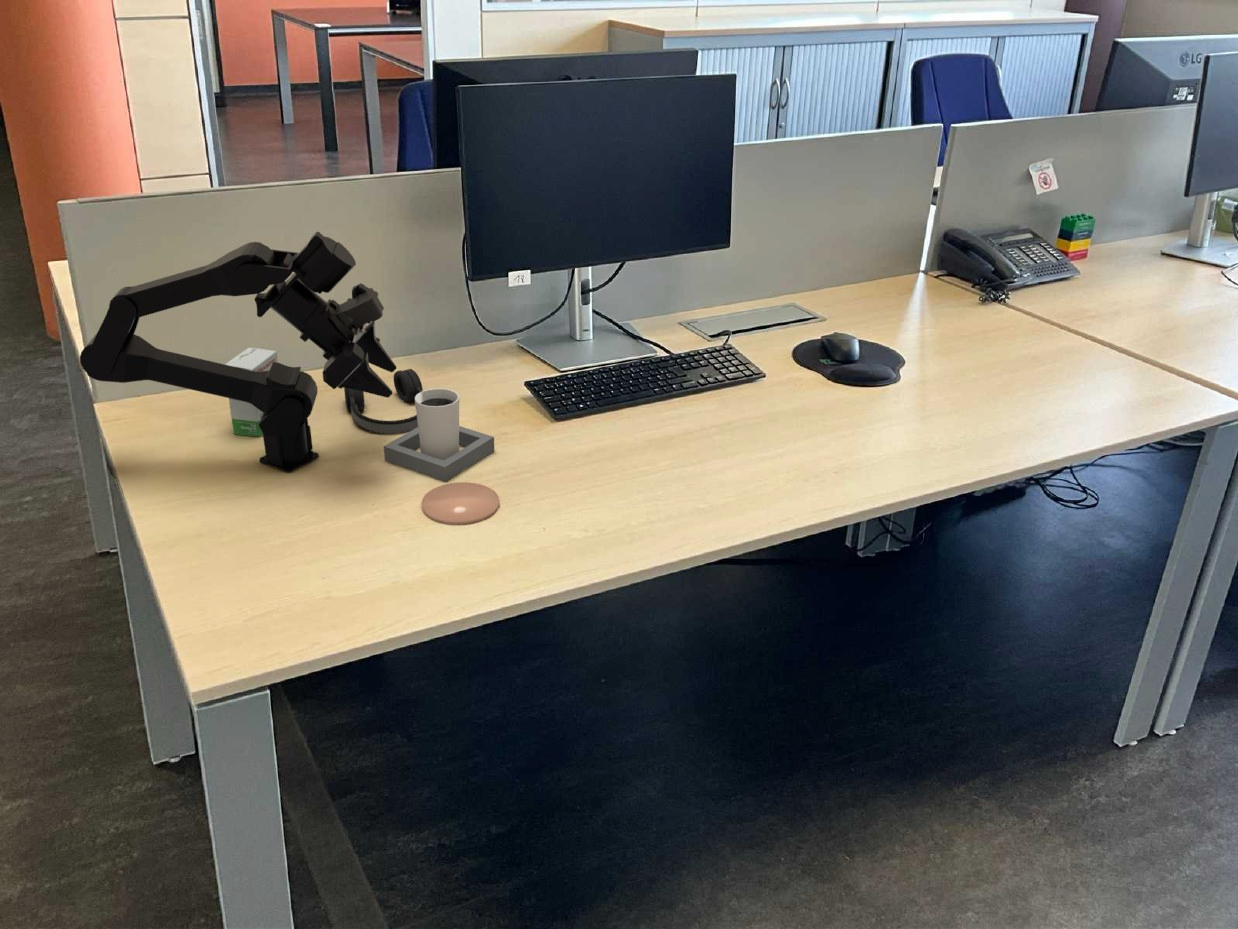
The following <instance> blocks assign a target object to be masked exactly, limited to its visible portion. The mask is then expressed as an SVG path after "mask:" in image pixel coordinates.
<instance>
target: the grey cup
mask: <svg viewBox="0 0 1238 929" xmlns="http://www.w3.org/2000/svg"><path fill="white" fill-rule="evenodd" d="M414 404H415V413H416V415H417V421H418V430H419V439H420V447H419V448H420V453H423V454H426V455H429V456H432V457H435V458H437V459H440V460H443V461H444V460H445V459H447V458H449V457H450V456H452V455H454V454H455V453H457V452H458V451H460V445H459V426H460V395H459V394H458V392H456V391H455V390H451V389H448V388H429V389H426V390H423V391H422V392H420V393H418V394H417V395H416V397H415V401H414Z"/></svg>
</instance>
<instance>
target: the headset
mask: <svg viewBox="0 0 1238 929" xmlns="http://www.w3.org/2000/svg"><path fill="white" fill-rule="evenodd" d="M376 338H377V340H378V341H379V343H381V339H380V338H379V337H376ZM393 373H394V374H393V385H394V389H395V391H396V393H397V396H398V397H399V398H400V400H401V401H402V402H404V403H409V402H412V401H413V402H415V397H416V395H417V394H418V393H420V392H422V391H424V390H423V385H422V381H421V379H420V376H419V375H418V373H417V372H416V371H415V370H413V369H412V368H408V369H404V370H397V371H396V372H395V371H394V372H393ZM343 389H344V390H343V391H344V399H345V407H346V410H349V411H351V416H352V420H353V421H354V423H355V424H356V425H357V426H358V427H359V428H361V429H363V430H365V431H367V432H370V433H371V434H372V433H373V434H378V435H396V434H398V435H399V434H405V433H408V432H410V431H412V430H413V429H415V428H417V427H418V421H417V414H416V415H413V416H410V417H408V418H407V417H406V418H402V419H397V420H383V419H382V420H381V419H374V418H371V417H368V416H366V415H363V414H362V413H361V412H360V411H362V410H364V409H365V392H363V391H359V390H353V389H348V388H343Z"/></svg>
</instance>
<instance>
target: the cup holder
mask: <svg viewBox="0 0 1238 929" xmlns="http://www.w3.org/2000/svg"><path fill="white" fill-rule="evenodd" d="M460 446H462V447H463V448H461V449H459V451H458V452H457V453H455V454H454V455H452V456H450V457H449V458H447V459H445V460H444V461H443V460H440V459H437V458H435V457H432V456H429V455H426V454H423V453H421V451H420V452H419V451H416V450H418V449H419V448H421V447H420V439H419V430H418V427H417V428H415V429H413V430H412V431H409V432H405V433H403V435H401V436H399V437H398V438H396V439H393V440H392V441H390V442H388V443H387V444H384V445H383V456H384V461H385V462H388V463H390V464H392V465H393V464H394V465H396V466H399V467H402V468H405V469H408V470H410V471H413V472H416V473H419V474H421V475H425V476H428V477H430V478H434V479H435V480H439V481H442V482H445V483H447V482H448V481H450V480H451V479H453V478H454V477H456V476H457V475H460V474H461V473H462V472H464V471H465V470H467V469H469V468H470V467H472V466H473V465H475V464H477V463H478V462H480V461H481V460H483V459H485V458H486V457H487V456H489V455H491V454H492V453H494V452H495V437H494V436H493V435H489V434H486V433H484V432H480V431H477V430H473V429H470V428H468V427H465V426H461V425H459V447H460Z"/></svg>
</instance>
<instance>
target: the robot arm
mask: <svg viewBox="0 0 1238 929" xmlns="http://www.w3.org/2000/svg"><path fill="white" fill-rule="evenodd" d="M356 262H357V261H356V260H355V258H354V256H353V255H352V254H351V252H350V251H349V250H348V248H346V247H345V246H344V245H343V244H342V243H340V242H339V241H338V242H337V241H335V240H334V239H332V238H331V237H328V236H324V235H323V234H322V233H321V232H320V231H316V232H315V233H314V234H313V235H312V236H311V237H310V239H309V241H308V242H307V243H306V245H305V246H304V247H303V248H302V249H301V250H300V251H299V252H294V251H288V250H281V249H280V250H279V249H273V248H270V247H269V246H267V245H265V244H263V243H262V242H260V241H259V242H258V241H253V242H252V241H250V242H248V243H245V244H243V245H241V246H239V247H237V248H235V249H233V250H231V251H229V252H228V253H226V254H224V255H222V256H220V257H219V258H218V259H215V260H214V261H212V262H211V263H209V264H207V265H204V266H199V267H196V268H192V269H189V270H185V271H183V272H177V273H175V274H173V275H172V274H171V275H169V276H164V277H162V278H158V279H155V280H152V281H148V282H144V283H140V284H137V285H133V286H124V287H122V288H120V289H119V290H118V292H117V293H116V294H115V295H114V296H113V298H111V300H110V301H109V305H108V309H107V311H106V314H105V317H104V319H103V320H102V323H101V324H100V327H99V329H98V330H97V332H96V333H95V335H94V336H92V338H91V339H90V341H89V342H88V344H86V345H85V347H83V349H82V350H81V352H80V355H79V362H80V366H81V368H82V370H83V371H84V373H86V375H87V376H88V377H89V378H91V379H92V380H96V381H98V382H105V383H106V382H107V383H121V384H126V383H133V382H142V381H152V382H155V383H160V384H165V385H170V386H173V387H178V388H182V389H186V390H187V389H188V390H191V391H194V392H195V391H196V392H200V393H204V394H208V395H211V396H212V395H214V396H217V397H222V398H227V399H229V398H230V399H235V400H239V401H243V402H247V403H250V404H252V405H253V406H254V407H256V408H257V409H259V410H260V411H262V412H263V415H262V418H261V420H260V423H259V427H260V429H261V431H262V432H263V435H262V438H263V446H264V452H265V453H264V455H263V456H261V457H259V459H258V460H259V463H262V464H264V465H266V466H269V467H272V468H275V469H278V470H280V471H282V472H285V473H292V472H293V471H296V470H298V469H299V468H301V467H303V466H305V465H306V464H309V463H311V462H313V461H315V460H316V459H318V458H319V457H320V453H318V452H316V451H313V441H312V439H313V438H312V432H311V431H312V430H311V426H310V425H309V421H308V418H309V417H310V416H311V414H312V411H313V408H314V407H315V406H314V405H315V402H316V400H317V396H318V384H317V382H316V381H315V379H314V378H313V376H312V375H311V374H309V373H307V372H305V371H301V369H302V367H301V366H288V365H286V364H283V363H281V362H278V363H277V362H273V363H272V365H271V368H270V370H269V371H262V372H254V371H250V370H246V369H241V368H237V367H233V366H229V365H226V364H224V363H220V362H215V361H211V360H207V359H202V358H198V357H194V356H191V355H185V354H181V353H177V352H173V351H169V350H163V349H160V348H158V347H156V346H154V345H152V344H151V343H150V342H148V341H147V340H145V339H144V338H143V337H141V336H140V335H137V334H135V333H136V331H137V328H138V326H139V325H138V324H139V322H140V318H142V317H146V316H149V315H152V314H156V313H159V312H160V313H161V312H163V311H167V310H170V309H173V308H176V307H181V306H183V305H186V304H187V305H188V304H191V303H195V302H198V301H201V300H203V299H207V298H212V297H216V296H218V297H219V296H225V297H240V296H249V295H255V297H254V301H255V305H256V316H257V317H258V318H262V317H263V316H264V315H265V314H266V313H267V312H268V311H269V310H270V309H272V311H274V312H275V313H276V314H278V315H279V316H280V317H281V318H282V319H283V320H285V321H286V322H287V323H289V324H290V325H291V327H293V328H294V329H296V330H297V331H299V333H300V336H299V339H301V340H302V341H303V342H304V343H306V342H307V341H308V340H310V341H311V342H312V343H313V344H314V345H316V346H317V347H318V348H319V349H321V350H322V351H323V353H322V357H323V358H324V359H325V360H327V361H326V362H325V363H324V367H323V369H322V379H323V380H322V381H323V382H324V383H325V384H326V385H328V386H329V387H330V388H331V389H333V390H335V389H337V388H338V389H339V390H340V389H344V388H348V389H353V390H359V391H363V392H364V393H366V394H372V395H375V396H379V397H384V398H390V397H391V396H392V395H393V391H392V389H391V388H390V386H388V385H387V384H386V382H384V380H383V379H382V378H381V377H380V376H379V375H378V374H377V372H376V371H374V370H373V368H372V367H371V366H370V364H371V365H373V366H375V367H378V368H380V369H382V370H385V371H387V372H390V373H395V371H396V369H397V365H396V364H395V362H394V361H393V359H391V357H390V356H389V354H388V353H387V351H386V350H385V348H384V347H383V345H382V344H381V342H379V341H378V340H377V338H378V337H376V323H375V322H376V321H377V320H380V319H381V318H382V317H383V311H384V310H385V308H384V307H385V306H383V303H382V302H381V301H380V299H379V293H378V292H377V291H375V290H374V289H373V287H368V286H367V285H365V284H364V283H358V284H357V285H354V286H353V287H352V290H351V297H349V298H347V300H346V301H344V302H342V303H340V304H339V303H338V302H337V301H335V299H331V298H330V299H328V300H327V301H326V300H325V299H323V298H322V297H321V296H320V295H321V294H322V293H325V294H329V293H331V291H333V289H335V287H336V286H337V285H338V284H339V283H340V282H341V281H342V280H343V279H344V278H345V277H346V276H347V275H348V274H349V272H350V271H351V270H352V269H354V267H356V264H357V263H356ZM292 273H293V274H292ZM270 286H271V287H270ZM269 287H270V288H269ZM268 288H269V289H268ZM267 289H268V290H267ZM266 290H267V291H266ZM264 291H266V292H264ZM318 294H319V295H318ZM366 324H368V325H366Z"/></svg>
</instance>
